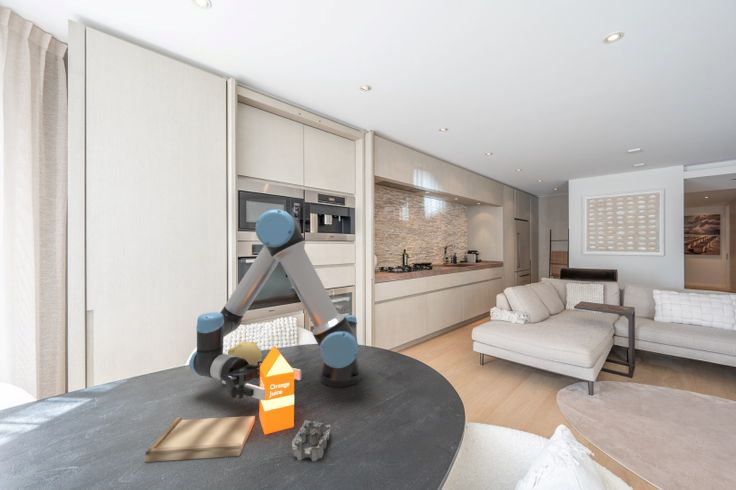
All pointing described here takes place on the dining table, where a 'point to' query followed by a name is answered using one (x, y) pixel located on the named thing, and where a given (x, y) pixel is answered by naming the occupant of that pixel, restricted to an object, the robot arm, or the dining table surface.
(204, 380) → the dining table surface
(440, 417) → the dining table surface
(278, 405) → the orange juice
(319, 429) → the egg carton
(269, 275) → the robot arm
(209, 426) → the serving board
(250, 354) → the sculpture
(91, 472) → the dining table surface
